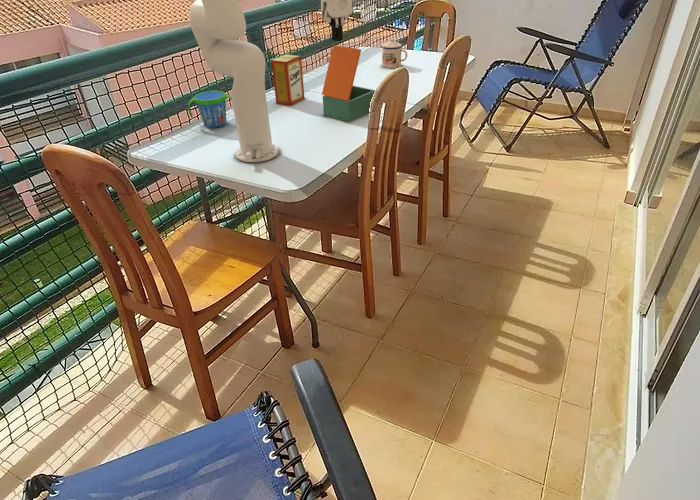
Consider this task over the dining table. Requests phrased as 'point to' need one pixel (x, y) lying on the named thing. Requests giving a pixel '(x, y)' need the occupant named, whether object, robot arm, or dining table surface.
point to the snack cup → (211, 107)
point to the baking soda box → (288, 79)
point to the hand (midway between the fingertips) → (337, 40)
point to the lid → (341, 72)
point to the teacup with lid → (392, 54)
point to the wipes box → (349, 104)
